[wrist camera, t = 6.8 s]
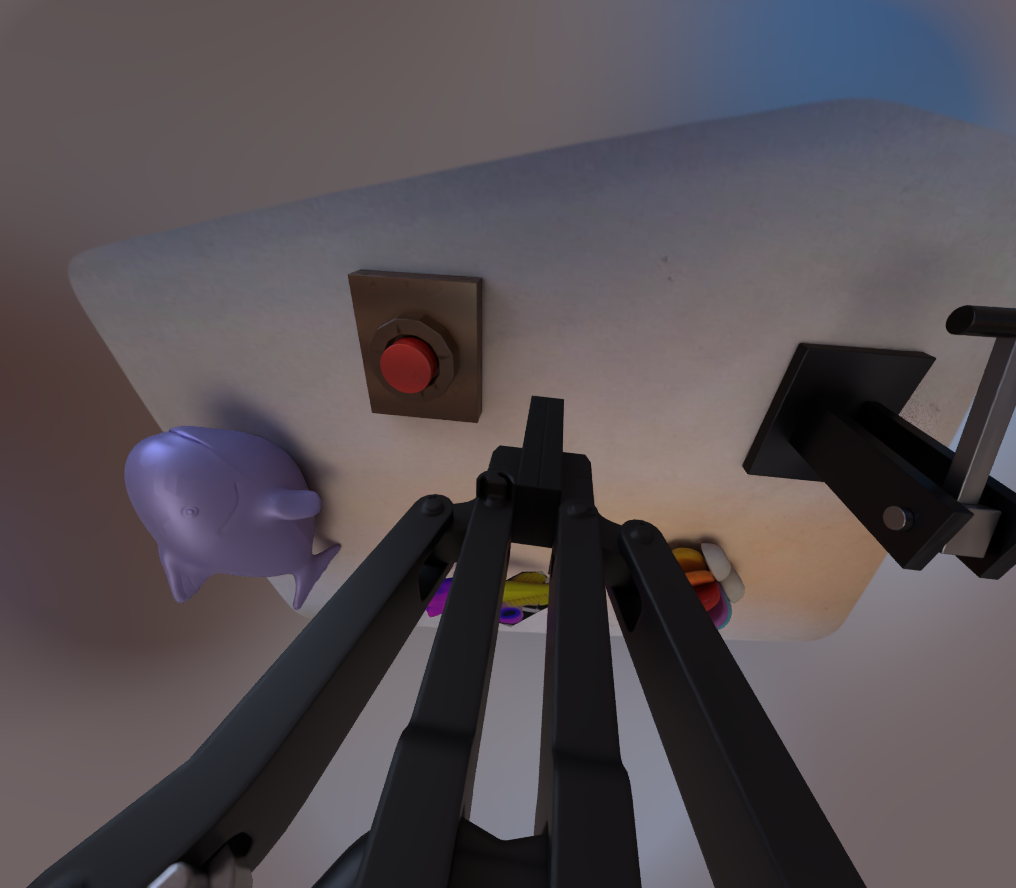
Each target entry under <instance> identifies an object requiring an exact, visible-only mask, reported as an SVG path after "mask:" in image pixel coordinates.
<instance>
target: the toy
mask: <svg viewBox="0 0 1016 888" xmlns="http://www.w3.org/2000/svg"><path fill="white" fill-rule="evenodd" d="M451 582H452V578H446V579H445V580H444V581H443V583H442V584H441V586H440V587H439V589H438V591H437V592H436V594H435V595H434V597H433V599H432V600H431V602H430V603H429V605H428V607H427V608H426V611H427V612H428V615H429V616H430V617H434V616H437V615H439V614H442V612H443V609H444V605H445V602H446V599H447V595H448V592H449V589H450V585H451ZM548 596H549V578H548V577H547V576H546V575H545V574H544V573H543V572H542V571H537V572H521V573H519V574H517V575H515V576H513V577H511V578H509V579H508V580H506V583H505V589H504V596H503V602H502V608H501V615H500V621H499V623H501V624H504V625H506V626H509V627H512V626H514V625H515V624H517V623H519V622H521V621H522V620H524V619H526V618H528V617H530V616H531V615H533V614H535V613H537V612H539V611H541V610H543V609H545V608H547V607H548Z"/></svg>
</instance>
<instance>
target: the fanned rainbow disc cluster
mask: <svg viewBox="0 0 1016 888" xmlns="http://www.w3.org/2000/svg"><path fill="white" fill-rule="evenodd" d="M701 548H702V551H703V554H704V556H705V557H703V556H702V554H701V553H699V552H697V551H695V550H693V549H690V548H676V549H674V550H672V552H673V554H674V556H675V557H676V559H677V561H678V562H679V564H680V566H681V568H682V569H683V571H684V573H685V575H686V576H687V578H688V580H689V581H690V583H691V585H692V587H693V588H694V590H695V592H696V594H697V595H698V597H699V599H700V601H701V602H702V604H703V606H704V607H705V609H706V611H707V613H708V614H709V616H710V618H711V620H712V621H713V623H714V625H715V626H716V628H717V630H718V629H721V628H723V627H725V626H726V625H727V624H728V622H729V620H730V618H731V614H732V608H731V604H730V602H732V603H736V602H738V601H739V600H740V599H741V598H742V597H743V595H744V591H745V587H744V585H743V582H742V580H741V578H740V576H739V575H738V573H737V572H736V571H735V570H734V569H732V568H731V565H730V563H729V560H728V558H727V556H726V554H725V552H724V550H723V549H722V548H721V547H719V546H717V545H715V544H711V543H702V544H701ZM729 601H730V602H729Z"/></svg>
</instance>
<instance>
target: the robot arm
mask: <svg viewBox="0 0 1016 888" xmlns="http://www.w3.org/2000/svg"><path fill="white" fill-rule="evenodd" d="M563 417H564V399H557V398H548V397H539V396H532V397H531V403H530V409H529V414H528V420H527V425H526V431H525V437H524V442H523V448H518V447H509V446H501V445H500V446H499V447H498V448H497V449H496V450H494V451H493V454H492V457H491V461H490V464H489V468H488V471H485V472H483V473H481V474H480V475H479V476H478V478H477V482H476V498H475V499H473V500H471V501H468V502H464V503H457V504H453V503H452V502H451V500H450V499H449V498H447V497H445V496H443V495H438V494H433V495H427V496H424V497H422V498H420V499H419V500H418V501H416V502H415V503H414V505H413V506H412V507H411V508H410V509H409V510H408V511H407V513H406V514H405V515H404V516H403V517H402V518H401V519H400V520H399V522H398V523H397V524H396V525H395V526H394V527H393V528H392V530H391V531H390V532H389V533H388V534H387V535H386V536H385V538H384V539H383V540H382V541H381V542H380V543H379V544H378V545H377V547H376V548H375V549H374V550H373V551H372V552H371V553H370V555H369V556H368V557H367V558H366V559H365V560H364V561H363V562H362V564H361V565H360V566H359V567H358V568H357V569H356V570H355V572H354V573H353V574H352V575H351V576H350V577H349V578H348V580H347V581H346V582H345V583H344V584H343V585H342V586H341V587H340V589H339V590H338V591H337V592H336V593H335V594H334V595H333V597H332V598H331V599H330V600H329V601H328V602H327V603H326V604H325V606H324V607H323V608H322V609H321V610H320V611H319V612H318V614H317V615H316V616H315V617H314V618H313V619H312V621H311V622H310V623H309V624H308V625H307V626H306V627H305V628H304V629H303V631H302V632H301V633H300V634H299V635H298V636H297V638H296V639H295V640H294V641H293V642H292V643H291V644H290V645H289V647H288V648H287V649H286V650H285V651H284V652H283V653H282V654H281V656H280V657H279V658H278V659H277V660H276V661H275V662H274V664H273V665H272V666H271V667H270V668H269V669H268V670H267V672H266V673H265V674H264V675H263V676H262V677H261V678H260V679H259V681H258V682H257V683H256V684H255V685H254V686H253V687H252V689H251V690H250V691H249V692H248V693H247V694H246V696H244V698H243V699H242V700H241V701H240V702H239V703H238V704H237V706H236V707H235V708H234V709H233V710H232V711H231V712H230V713H229V715H228V716H227V717H226V718H225V719H224V720H223V722H222V723H221V724H220V725H219V726H218V727H217V728H216V729H215V731H214V732H213V733H212V734H211V735H210V736H209V738H207V740H206V741H205V742H204V743H203V744H202V746H200V748H199V749H198V750H197V751H196V752H195V753H194V754H193V756H192V757H191V758H190V759H189V760H188V761H186V762H185V763H184V764H183V765H181V766H180V767H179V768H177V769H176V770H175V771H174V772H172V773H171V774H170V775H168V776H167V777H166V778H164V779H163V780H162V781H161V782H159V783H158V784H157V785H155V786H154V787H153V788H152V789H150V790H149V791H148V792H146V793H145V794H144V795H143V796H141V797H140V798H138V799H137V800H136V801H135V802H134V803H132V804H131V805H129V806H128V807H127V808H126V809H124V810H123V811H122V812H120V813H119V814H118V815H116V816H115V817H114V818H113V819H111V820H110V821H109V822H107V823H106V824H105V825H104V826H102V827H101V828H100V829H99V830H97V831H96V832H94V833H93V834H92V835H91V836H89V837H88V838H87V839H85V840H84V841H83V842H82V843H80V844H79V845H78V846H76V847H75V848H74V849H73V850H71V851H70V852H69V853H67V854H66V855H65V856H64V857H62V858H61V859H59V860H58V861H57V862H56V863H54V864H53V865H52V866H50V867H49V868H48V869H47V870H45V871H44V872H43V873H42V874H41V875H40V876H39V877H37V878H36V879H35V880H34V881H33V882H32V883H31V884H30V885H29V886H28V887H27V888H252V883H253V879H252V875H251V873H252V871H253V870H254V869H255V868H256V867H257V866H258V865H259V864H260V863H261V861H262V860H263V859H264V858H265V856H266V855H267V854H268V853H269V851H270V850H271V849H272V848H273V846H274V845H275V844H276V842H277V841H278V840H279V839H280V837H281V836H282V835H283V833H284V832H285V831H286V829H287V828H288V826H289V825H290V824H291V822H292V821H293V819H294V817H295V816H296V815H297V813H298V812H299V810H300V809H301V807H302V806H303V804H304V803H305V801H306V800H307V798H308V796H309V795H310V793H311V792H312V790H313V788H314V787H315V785H316V784H317V782H318V780H319V779H320V777H321V776H322V774H323V773H324V771H325V769H326V768H327V766H328V765H329V763H330V761H331V760H332V758H333V757H334V755H335V753H336V752H337V750H338V749H339V747H340V745H341V744H342V742H343V741H344V739H345V737H346V736H347V734H348V733H349V731H350V729H351V728H352V726H353V725H354V723H355V721H356V720H357V718H358V717H359V715H360V713H361V712H362V710H363V709H364V707H365V706H366V704H367V702H368V701H369V699H370V698H371V696H372V694H373V693H374V691H375V689H376V688H377V686H378V685H379V683H380V682H381V680H382V678H383V677H384V675H385V674H386V672H387V670H388V668H389V667H390V666H391V664H392V662H393V661H394V659H395V658H396V656H397V654H398V653H399V651H400V650H401V648H402V646H403V645H404V643H405V642H406V640H407V639H408V637H409V635H410V634H411V632H412V630H413V629H414V627H415V626H416V624H417V623H418V621H419V619H420V618H421V616H422V615H423V613H424V611H425V610H426V608H427V607H428V605H429V603H430V602H431V600H432V599H433V597H434V595H435V594H436V592H437V591H438V589H439V587H440V586H441V584H442V583H443V581H444V580H445V578H446V576H447V575H448V573H449V572H450V570H451V568H452V567H453V565H454V562H457V565H456V568H455V572H454V575H453V578H452V582H451V585H450V589H449V592H448V595H447V599H446V602H445V605H444V609H443V612H442V616H441V619H440V622H439V626H438V629H437V633H436V636H435V639H434V643H433V646H432V650H431V653H430V656H429V660H428V663H427V666H426V670H425V673H424V676H423V680H422V683H421V687H420V690H419V693H418V697H417V700H416V704H415V707H414V711H413V714H412V717H411V720H410V722H409V724H408V726H407V727H406V728H405V729H404V730H403V732H402V734H401V736H400V738H399V741H398V743H397V746H396V749H395V752H394V755H393V759H392V762H391V765H390V768H389V771H388V775H387V778H386V782H385V784H384V788H383V791H382V794H381V797H380V801H379V804H378V807H377V811H376V814H375V817H374V820H373V823H372V827H371V830H370V831H368V832H367V833H365V834H364V835H362V836H361V837H360V838H359V839H358V840H356V841H355V842H354V843H353V844H352V845H351V846H350V847H349V848H348V849H347V850H346V851H345V852H344V853H343V854H342V855H341V856H340V857H339V858H338V859H337V860H336V861H335V862H334V863H333V865H332V866H331V867H330V868H329V869H328V870H327V871H326V872H325V873H324V874H323V876H322V877H321V878H320V879H319V880H318V881H317V882H316V883H315V884H314V885H313V886H312V888H642V887H641V877H640V867H639V858H638V848H637V839H636V828H635V819H634V809H633V799H632V793H631V785H630V780H629V776H628V773H627V771H626V769H625V767H624V766H623V764H622V760H621V755H620V747H619V735H618V723H617V712H616V701H615V690H614V678H613V667H612V656H611V645H610V633H609V622H608V611H607V600H606V590H607V592H608V595H609V598H610V601H611V603H612V606H613V609H614V612H615V614H616V617H617V620H618V623H619V625H620V628H621V631H622V634H623V636H624V639H625V642H626V644H627V647H628V650H629V653H630V656H631V658H632V661H633V664H634V667H635V669H636V672H637V675H638V678H639V680H640V683H641V685H642V689H643V691H644V694H645V697H646V700H647V702H648V705H649V708H650V711H651V713H652V716H653V719H654V722H655V724H656V727H657V730H658V733H659V735H660V738H661V741H662V744H663V747H664V749H665V752H666V755H667V758H668V760H669V763H670V766H671V768H672V771H673V774H674V776H675V779H676V782H677V785H678V788H679V790H680V793H681V796H682V799H683V801H684V804H685V807H686V810H687V813H688V815H689V818H690V821H691V824H692V826H693V829H694V832H695V835H696V837H697V840H698V843H699V845H700V848H701V851H702V854H703V856H704V859H705V862H706V865H707V868H708V870H709V873H710V876H711V879H712V881H713V884H714V887H715V888H867V887H866V886H865V884H864V882H863V880H862V879H861V877H860V875H859V873H858V872H857V870H856V868H855V867H854V865H853V863H852V861H851V860H850V858H849V856H848V854H847V853H846V851H845V849H844V848H843V846H842V844H841V842H840V841H839V839H838V837H837V835H836V834H835V832H834V830H833V829H832V827H831V825H830V823H829V822H828V820H827V818H826V816H825V815H824V813H823V811H822V810H821V808H820V806H819V804H818V803H817V801H816V799H815V797H814V796H813V794H812V792H811V791H810V789H809V787H808V786H807V784H806V782H805V780H804V779H803V777H802V775H801V773H800V772H799V770H798V768H797V767H796V765H795V763H794V761H793V759H792V758H791V756H790V754H789V753H788V751H787V749H786V748H785V746H784V744H783V742H782V740H781V739H780V737H779V735H778V734H777V732H776V730H775V728H774V727H773V725H772V723H771V721H770V720H769V718H768V717H767V715H766V713H765V711H764V709H763V708H762V706H761V704H760V703H759V701H758V699H757V697H756V696H755V694H754V692H753V690H752V689H751V687H750V685H749V683H748V682H747V680H746V678H745V677H744V675H743V673H742V671H741V670H740V668H739V666H738V665H737V663H736V661H735V659H734V658H733V656H732V654H731V653H730V651H729V649H728V647H727V645H726V644H725V642H724V640H723V639H722V637H721V635H720V633H719V632H718V630H717V628H716V626H715V625H714V623H713V621H712V620H711V618H710V616H709V614H708V613H707V611H706V609H705V607H704V606H703V604H702V602H701V601H700V599H699V597H698V595H697V594H696V592H695V590H694V588H693V587H692V585H691V583H690V581H689V580H688V578H687V576H686V575H685V573H684V571H683V569H682V568H681V566H680V564H679V562H678V561H677V559H676V557H675V556H674V554H673V552H672V550H671V549H670V547H669V545H668V543H667V542H666V540H665V538H664V537H663V535H662V533H661V532H660V531H659V530H658V528H656V527H655V526H654V525H652V524H651V523H648V522H646V521H643V520H635V519H634V520H629V521H627V522H625V523H624V524H623V525H619V524H616V523H614V522H611V521H609V520H607V519H605V518H604V517H603V516H601V515H600V514H599V513H598V510H597V508H596V507H595V505H594V495H593V483H592V473H591V472H592V470H591V462H590V461H589V459H588V458H587V457H586V455H583V454H575V453H567V452H563ZM511 543H519V544H526V545H533V546H540V547H547V548H552V554H551V560H550V565H549V571H548V574H550V577H549V596H548V615H547V634H546V654H545V672H544V690H543V709H542V728H541V747H540V766H539V784H538V797H537V806H536V815H535V826H534V836H530V837H524V838H518V839H512V840H500V839H498V838H496V837H495V836H493V835H492V834H490V833H488V832H487V831H485V830H483V829H482V828H480V827H478V826H477V825H475V824H473V823H472V822H470V821H469V818H470V811H471V803H472V796H473V787H474V780H475V772H476V767H477V761H478V753H479V748H480V741H481V735H482V728H483V722H484V716H485V709H486V703H487V697H488V691H489V684H490V678H491V672H492V665H493V659H494V653H495V646H496V640H497V634H498V627H499V621H500V615H501V608H502V602H503V596H504V589H505V583H506V577H507V570H508V564H509V557H510V548H511ZM605 586H606V589H605Z"/></svg>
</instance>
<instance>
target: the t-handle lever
mask: <svg viewBox="0 0 1016 888" xmlns="http://www.w3.org/2000/svg"><path fill="white" fill-rule="evenodd" d="M946 329H947V331H948V332H949V333H951V334H954V335H967V336H981V337H996V341H995V344H994V346H993V349H992V352H991V355H990V357H989V360H988V363H987V366H986V369H985V371H984V374H983V377H982V380H981V383H980V385H979V388H978V391H977V394H976V396H975V399H974V402H973V405H972V408H971V410H970V413H969V416H968V419H967V422H966V424H965V427H964V430H963V433H962V435H961V438H960V441H959V444H958V447H957V449H956V452H955V455H954V458H953V461H952V463H951V466H950V469H949V472H948V474H947V477H946V480H945V483H944V486H943V488H942V489H943V490H944V491H945V492H947V493H948V494H949V495H951V496H952V497H953V498H954V499H956V500H957V501H958V502H960V503H961V504H962V505H963V506H965V507H966V508H967V509H969V510H970V511H971V512H972V513H974V514H975V515H974V516H973V517H972V518H971V519H970V520H969V521H968V522H967V523H966V524H965V525H964V526H963V528H962V529H961V530H960V531H959V532H958V533H957V534H956V535H955V536H954V537H953V538H952V539H951V540H950V541H949V542H948V543H947V544H946V545H945V546H944V547H943V548H942V549H941V550H940V552H939V553H942V554H951V555H960V556H969V557H977V558H983V557H984V556H985V553H986V551H987V548H988V546H989V543H990V541H991V538H992V536H993V533H994V531H995V529H996V526H997V524H998V521H999V519H1000V516H1001V514H1002V512H1001V511H999V510H996V509H993V508H990V507H987V506H984V505H981V504H978V502H979V500H980V497H981V495H982V492H983V489H984V487H985V484H986V482H987V479H988V476H989V474H990V471H991V469H992V466H993V463H994V461H995V458H996V456H997V453H998V450H999V447H1000V445H1001V443H1002V440H1003V437H1004V435H1005V432H1006V430H1007V427H1008V424H1009V422H1010V419H1011V417H1012V414H1013V412H1014V409H1015V406H1016V308H1002V307H987V306H971V305H966V306H962V307H959V308H957V309H956V310H954V311H953V312H952V313H951V314H950V315H949V317H948V319H947V321H946Z"/></svg>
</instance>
